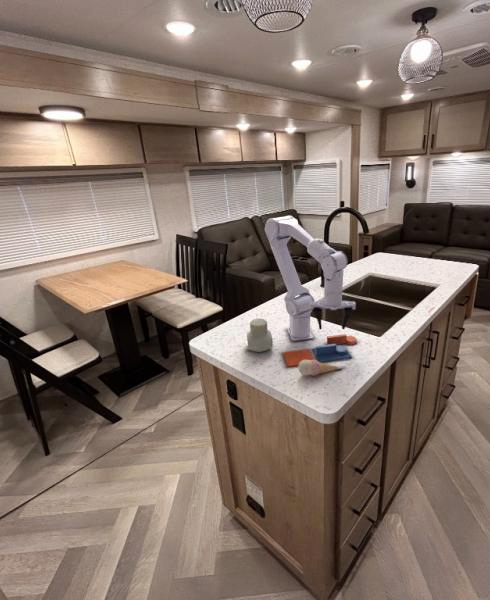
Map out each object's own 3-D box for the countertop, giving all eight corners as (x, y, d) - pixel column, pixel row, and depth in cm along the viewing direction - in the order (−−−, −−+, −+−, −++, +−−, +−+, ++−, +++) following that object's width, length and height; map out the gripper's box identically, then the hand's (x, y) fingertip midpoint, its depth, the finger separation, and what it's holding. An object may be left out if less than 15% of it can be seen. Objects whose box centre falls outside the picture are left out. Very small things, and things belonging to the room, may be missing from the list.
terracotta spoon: (329, 347, 112) (329, 340, 110) (325, 341, 115) (325, 334, 114) (358, 343, 114) (358, 336, 112) (353, 338, 117) (354, 331, 116)
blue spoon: (317, 358, 105) (317, 350, 104) (314, 351, 108) (314, 344, 107) (348, 353, 107) (349, 346, 106) (344, 347, 110) (344, 340, 109)
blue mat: (312, 349, 110) (312, 348, 110) (342, 345, 113) (342, 344, 112) (319, 362, 103) (319, 361, 103) (351, 358, 105) (351, 356, 105)
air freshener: (273, 354, 108) (272, 328, 104) (249, 357, 107) (247, 330, 103) (269, 338, 118) (268, 314, 114) (247, 340, 117) (245, 316, 113)
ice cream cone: (338, 365, 103) (294, 364, 98) (344, 357, 100) (299, 356, 95) (341, 378, 100) (297, 378, 95) (348, 371, 97) (302, 370, 92)
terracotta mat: (282, 353, 108) (282, 352, 108) (308, 350, 110) (308, 349, 110) (287, 367, 101) (287, 365, 101) (315, 363, 103) (315, 362, 103)
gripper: (310, 295, 98) (310, 333, 104) (358, 294, 98) (355, 333, 103) (310, 286, 105) (309, 323, 110) (354, 286, 104) (352, 323, 110)
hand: (331, 328), depth 107 cm, fingers open, 7 cm apart
